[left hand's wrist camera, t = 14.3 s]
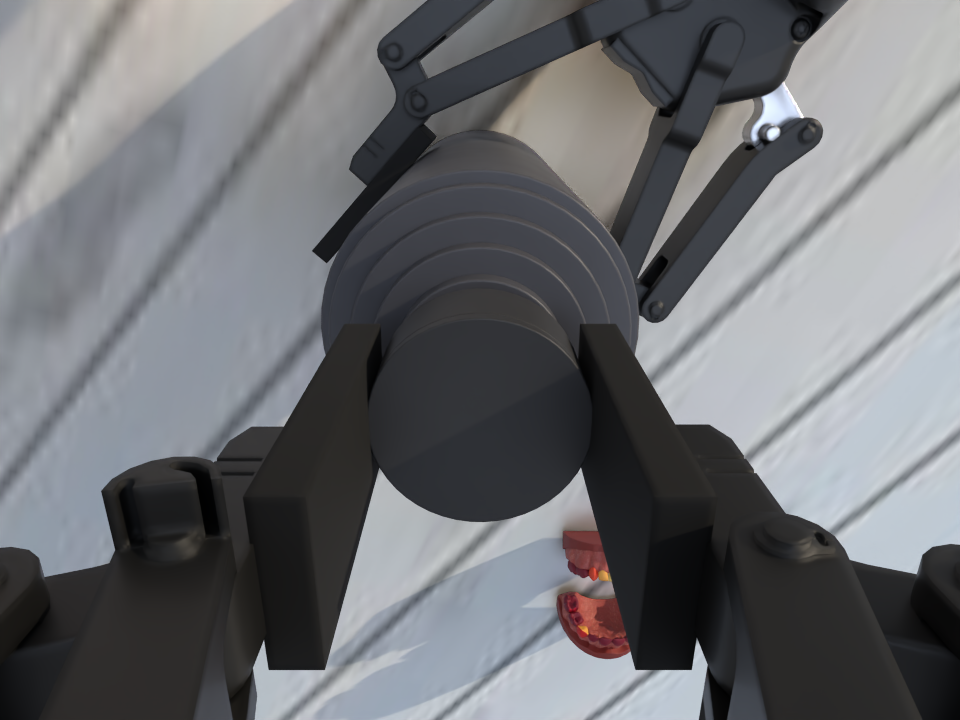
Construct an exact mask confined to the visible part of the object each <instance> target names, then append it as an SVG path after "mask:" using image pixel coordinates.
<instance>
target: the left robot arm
mask: <svg viewBox="0 0 960 720" xmlns="http://www.w3.org/2000/svg"><path fill="white" fill-rule="evenodd" d="M381 361H382V342H381V325H380V324H344V325H343V327H342V329H341V330H340V332H339V334H338V336H337V337H336V339H335V341H334V342H333V344H332V346H331V347H330V349H329V351H328V353H327V354H326V356H325V358H324V359H323V361H322V363H321V364H320V366H319V368H318V370H317V371H316V373H315V375H314V376H313V378H312V380H311V382H310V383H309V385H308V387H307V388H306V390H305V392H304V393H303V395H302V397H301V399H300V400H299V402H298V404H297V405H296V407H295V409H294V410H293V412H292V414H291V416H290V417H289V419H288V421H287V422H286V424H285V426H284V427H251V428H249V429H247V430H246V431H244V432H243V433H241V434H240V435H238V436H237V437H235V438H233V439H232V440H230V441H229V442H228V444H227V445H226V446H225V448H224V449H223V451H222V452H221V453H220V455H219V456H218V457H217V461H215V462H214V463H213V462H212V461H211V460H206V459H202V458H198V457H170V458H165V459H159V460H154V461H150V462H147V463H144V464H142V465H139V466H136V467H133V468H130V469H128V470H127V471H125V472H123V473H122V474H120V475H118V476H117V477H115V478H113V479H112V480H111V481H110V482H109V483H108V484H107V485H106V486H105V487H104V488H103V490H102V491H101V492H102V496H103V501H104V505H105V509H106V513H107V517H108V521H109V526H110V530H111V534H112V538H113V542H114V546H115V552H114V554H113V557H112V559H111V561H110V563H109V564H105V565H101V566H97V567H93V568H88V569H83V570H78V571H73V572H68V573H63V574H58V575H53V576H48V577H44V574H43V570H42V567H41V564H40V560H39V558H38V557H37V556H36V555H35V554H33V553H32V552H31V551H30V550H26V549H20V548H14V547H6V548H0V720H254V719H255V710H256V701H257V692H256V685H255V679H254V673H253V666H254V663H255V661H256V658H257V656H258V653H259V651H260V648H261V646H262V643H263V641H264V642H265V648H266V655H267V662H268V668H269V670H325V668H326V664H327V660H328V656H329V653H330V649H331V645H332V642H333V638H334V634H335V630H336V627H337V623H338V619H339V615H340V612H341V608H342V604H343V601H344V597H345V593H346V589H347V586H348V582H349V578H350V575H351V571H352V567H353V563H354V560H355V556H356V552H357V548H358V545H359V541H360V537H361V534H362V530H363V526H364V522H365V519H366V515H367V511H368V507H369V504H370V500H371V496H372V493H373V489H374V485H375V481H376V478H377V474H378V470H379V466H378V464H377V462H376V460H375V458H374V456H373V453H372V450H371V446H370V432H369V417H368V400H369V396H370V392H371V389H372V386H373V383H374V380H375V378H376V375H377V372H378V369H379V367H380V364H381ZM578 361H579V363H580V366H581V369H582V371H583V374H584V377H585V380H586V382H587V385H588V388H589V391H590V394H591V398H592V403H593V408H592V424H591V439H590V449H589V451H588V454H587V456H586V458H585V461H584V463H583V464H582V466H581V469H582V472H583V476H584V480H585V484H586V487H587V491H588V495H589V498H590V502H591V506H592V510H593V513H594V517H595V521H596V525H597V528H598V532H599V536H600V539H601V543H602V547H603V551H604V554H605V558H606V562H607V565H608V569H609V573H610V577H611V580H612V584H613V588H614V591H615V595H616V599H617V603H618V606H619V610H620V614H621V618H622V621H623V625H624V629H625V632H626V636H627V640H628V644H629V647H630V651H631V655H632V658H633V662H634V666H635V670H692V665H693V658H694V651H695V645H696V638H697V639H698V641H699V644H700V646H701V649H702V651H703V654H704V656H705V659H706V661H707V664H708V667H707V673H706V679H705V685H704V691H703V698H702V704H701V710H700V716H699V720H960V545H955V544H948V545H942V546H936V547H932V548H931V549H929V550H928V551H927V552H926V553H924V554H923V555H922V559H921V562H920V565H919V569H918V572H917V574H912V573H907V572H902V571H897V570H892V569H887V568H882V567H877V566H872V565H867V564H863V563H859V562H856V561H852V560H849V558H848V555H847V553H846V551H845V549H844V548H843V546H842V545H841V544H840V543H839V541H838V540H837V539H836V537H835V536H833V535H832V534H831V533H829V532H828V531H826V530H825V529H823V528H822V527H820V526H819V525H817V524H815V523H812V522H810V521H808V520H805V519H803V518H800V517H798V516H794V515H789V514H786V513H785V512H784V511H783V509H782V508H781V506H780V505H779V504H778V502H777V501H776V500H775V498H774V497H773V495H772V494H771V493H770V491H769V490H768V488H767V487H766V486H765V484H764V483H763V482H762V480H761V479H760V477H759V476H758V475H757V473H754V469H753V468H752V466H751V465H750V464H749V462H748V461H747V460H746V459H744V455H743V454H742V453H741V451H740V450H739V449H738V447H737V446H736V444H735V443H734V442H733V440H732V439H731V438H729V437H728V436H726V435H725V434H723V433H721V432H720V431H718V430H717V429H715V428H714V427H712V426H710V425H675V423H674V422H673V420H672V418H671V416H670V415H669V413H668V411H667V410H666V408H665V406H664V405H663V403H662V401H661V399H660V398H659V396H658V394H657V393H656V391H655V389H654V388H653V386H652V384H651V382H650V381H649V379H648V377H647V376H646V374H645V372H644V371H643V369H642V367H641V365H640V364H639V362H638V360H637V359H636V357H635V355H634V353H633V352H632V350H631V348H630V347H629V345H628V343H627V342H626V340H625V338H624V336H623V335H622V333H621V331H620V330H619V328H618V326H617V325H616V324H580V333H579V350H578Z"/></svg>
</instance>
